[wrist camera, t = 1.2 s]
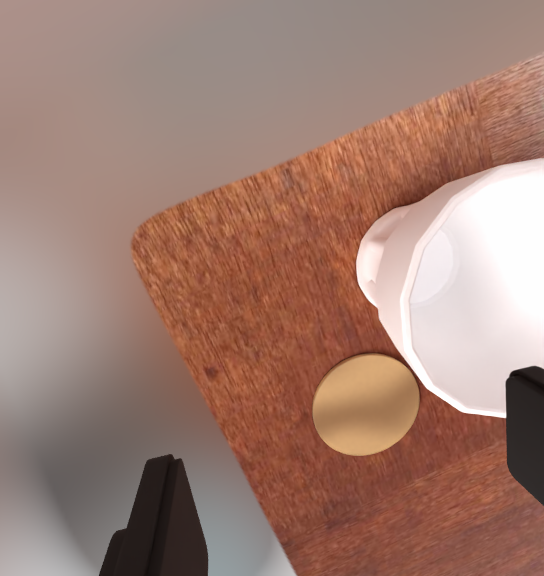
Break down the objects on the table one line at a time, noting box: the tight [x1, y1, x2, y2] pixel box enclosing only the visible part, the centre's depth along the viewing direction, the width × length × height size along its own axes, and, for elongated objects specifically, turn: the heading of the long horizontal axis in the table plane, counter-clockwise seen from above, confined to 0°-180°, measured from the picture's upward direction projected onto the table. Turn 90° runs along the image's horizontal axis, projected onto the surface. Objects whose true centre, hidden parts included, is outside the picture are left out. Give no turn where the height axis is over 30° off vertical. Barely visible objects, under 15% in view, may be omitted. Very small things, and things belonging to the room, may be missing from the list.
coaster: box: [312, 353, 420, 456], centre depth 29 cm, size 9×9×1 cm
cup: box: [356, 158, 544, 418], centre depth 22 cm, size 12×12×11 cm
